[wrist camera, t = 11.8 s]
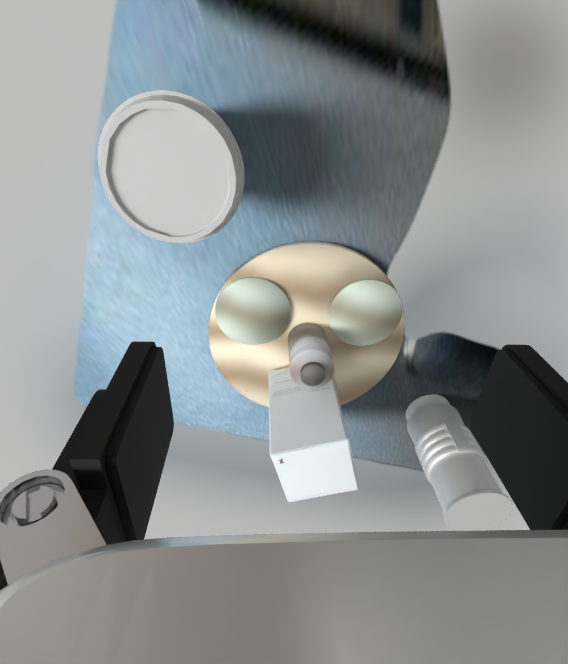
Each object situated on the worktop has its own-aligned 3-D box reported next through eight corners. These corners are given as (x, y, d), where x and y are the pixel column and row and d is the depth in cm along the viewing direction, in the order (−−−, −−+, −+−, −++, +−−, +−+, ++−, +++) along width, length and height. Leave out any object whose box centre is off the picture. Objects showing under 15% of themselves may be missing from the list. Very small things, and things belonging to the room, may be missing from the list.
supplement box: (281, 415, 50) (285, 504, 40) (267, 369, 47) (267, 454, 36) (339, 404, 50) (359, 492, 39) (330, 356, 46) (349, 439, 35)
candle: (460, 391, 52) (524, 492, 39) (446, 430, 55) (500, 534, 43) (408, 390, 51) (455, 491, 38) (397, 430, 55) (436, 534, 42)
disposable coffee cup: (253, 204, 38) (248, 247, 28) (152, 206, 38) (111, 251, 28) (246, 88, 33) (238, 88, 23) (131, 89, 33) (71, 91, 23)
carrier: (203, 238, 40) (189, 270, 33) (420, 243, 41) (450, 274, 34) (215, 405, 51) (207, 454, 45) (384, 405, 52) (402, 453, 46)
